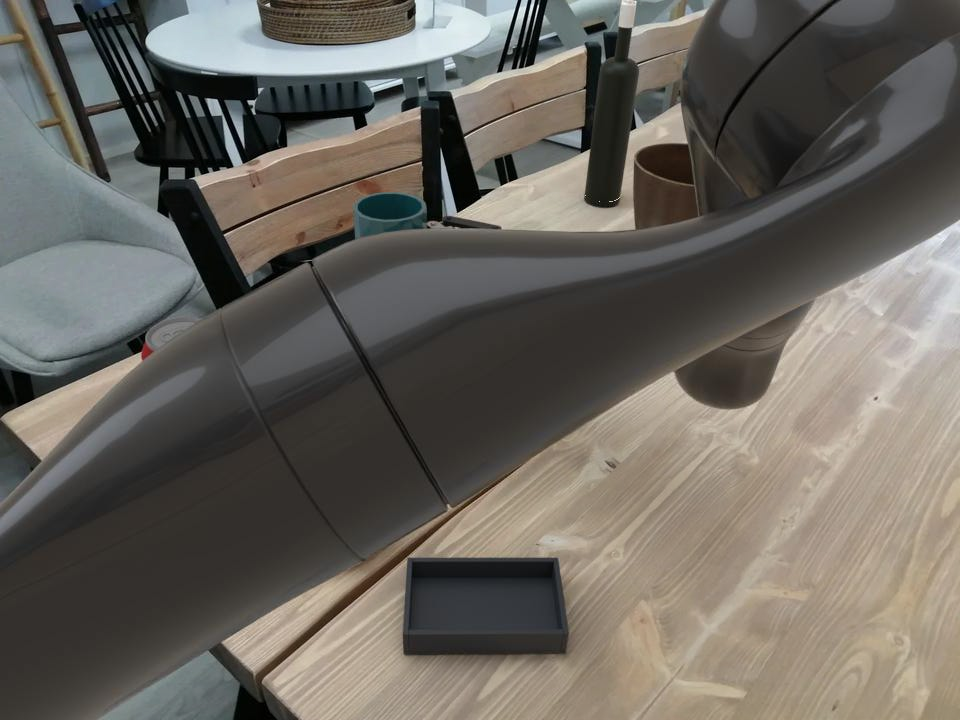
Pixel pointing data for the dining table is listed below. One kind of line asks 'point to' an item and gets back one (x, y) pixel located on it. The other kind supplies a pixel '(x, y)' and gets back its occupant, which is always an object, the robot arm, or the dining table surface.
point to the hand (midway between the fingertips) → (370, 241)
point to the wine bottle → (613, 117)
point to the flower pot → (663, 185)
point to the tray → (484, 606)
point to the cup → (388, 213)
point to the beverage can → (165, 333)
